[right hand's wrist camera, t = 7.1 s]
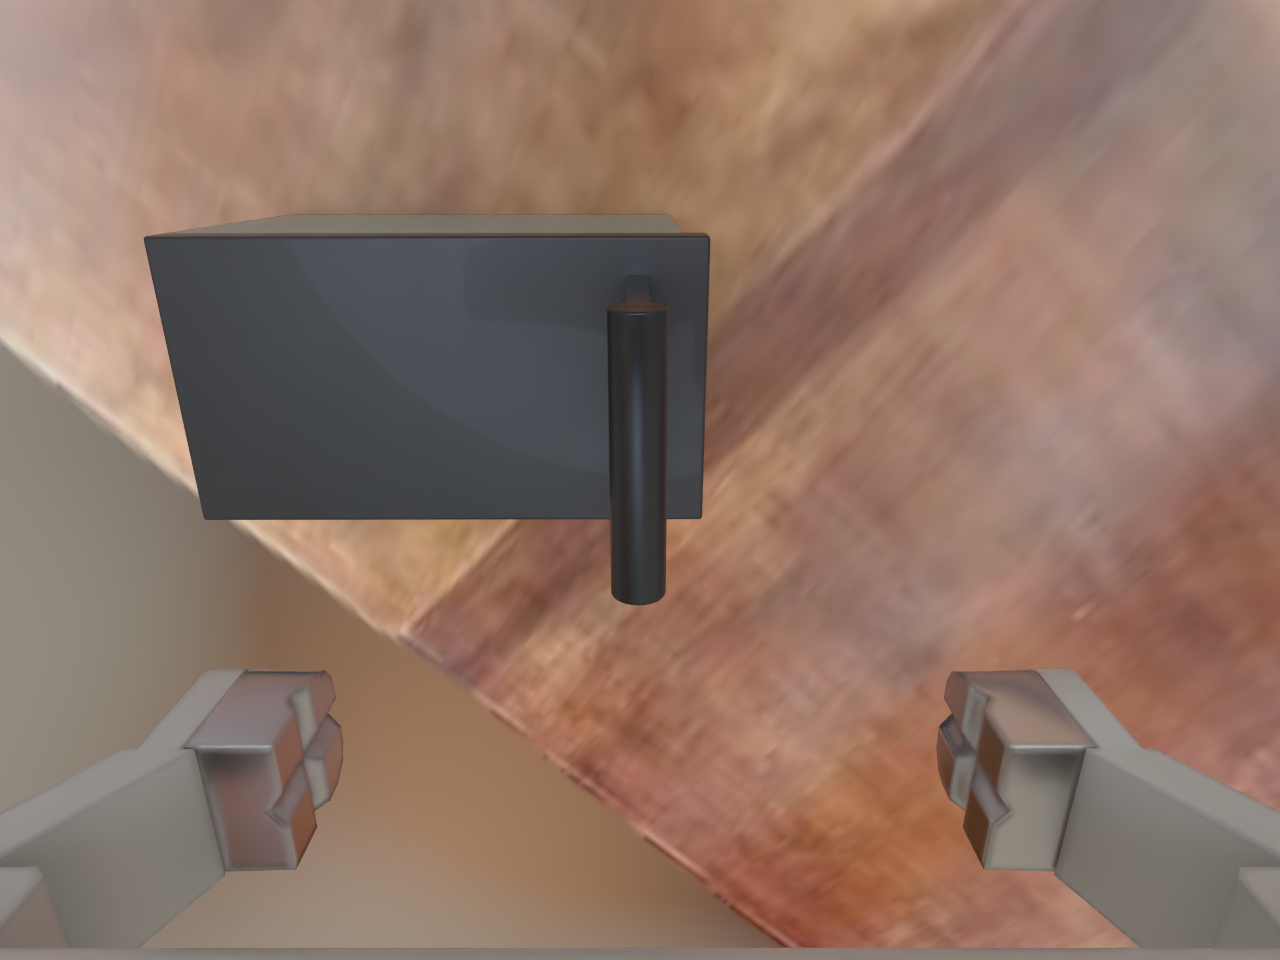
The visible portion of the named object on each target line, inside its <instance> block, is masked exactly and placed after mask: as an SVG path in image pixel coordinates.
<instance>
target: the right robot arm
mask: <svg viewBox="0 0 1280 960" xmlns="http://www.w3.org/2000/svg"><path fill="white" fill-rule="evenodd" d="M335 699H336V695H335V690H334V685H333V681H332V677H331V676H330V675H329V674H328V673H327V672H326V671H325V670H279V669H251V670H248V669H212V670H209V671H206V672H204V673H203V674H202V675H201V676H200V677H199V678H198V679H197V681H196V682H195V683H194V684H193V685H192V686H191V687H190V689H189V690H188V691H187V692H186V693H185V694H184V696H183V697H182V698H181V699H180V700H179V701H178V702H177V704H176V705H175V706H174V707H173V708H172V709H171V711H170V712H169V713H168V714H167V715H166V716H165V717H164V719H163V720H162V721H161V722H160V723H159V724H158V726H157V727H156V728H155V729H154V730H153V731H152V732H151V734H150V735H149V736H148V737H147V738H146V739H145V741H144V742H143V743H142V744H141V745H140V746H139V748H138V749H124V750H122V751H120V752H118V753H116V754H114V755H112V756H110V757H108V758H106V759H104V760H102V761H100V762H98V763H96V764H94V765H92V766H90V767H88V768H86V769H84V770H82V771H80V772H78V773H76V774H74V775H72V776H70V777H68V778H67V779H65V780H62V781H61V782H59V783H57V784H55V785H53V786H51V787H49V788H47V789H45V790H43V791H41V792H39V793H37V794H35V795H33V796H31V797H29V798H27V799H25V800H23V801H21V802H19V803H17V804H15V805H13V806H11V807H9V808H7V809H5V810H3V811H1V812H0V960H1280V812H1278V811H1276V810H1274V809H1272V808H1270V807H1268V806H1266V805H1264V804H1262V803H1261V802H1259V801H1257V800H1255V799H1253V798H1251V797H1249V796H1247V795H1245V794H1243V793H1241V792H1239V791H1237V790H1235V789H1233V788H1231V787H1229V786H1227V785H1225V784H1223V783H1221V782H1219V781H1217V780H1215V779H1213V778H1211V777H1209V776H1208V775H1206V774H1204V773H1202V772H1200V771H1198V770H1196V769H1194V768H1192V767H1190V766H1188V765H1186V764H1184V763H1182V762H1180V761H1178V760H1176V759H1174V758H1172V757H1170V756H1168V755H1166V754H1164V753H1162V752H1160V751H1158V750H1156V749H1142V748H1141V746H1140V745H1139V744H1138V743H1137V742H1136V741H1135V739H1134V738H1133V737H1132V736H1131V735H1130V734H1129V732H1128V731H1127V730H1126V729H1125V728H1124V727H1123V726H1122V724H1121V723H1120V722H1119V721H1118V720H1117V719H1116V717H1115V716H1114V715H1113V714H1112V713H1111V712H1110V711H1109V709H1108V708H1107V707H1106V706H1105V705H1104V704H1103V702H1102V701H1101V700H1100V699H1099V698H1098V697H1097V696H1096V694H1095V693H1094V692H1093V691H1092V690H1091V689H1090V687H1089V686H1088V685H1087V684H1086V683H1085V682H1084V680H1083V679H1082V678H1081V677H1080V676H1079V675H1078V674H1077V673H1076V672H1074V671H1072V670H1070V669H1068V668H1059V669H1029V670H1016V671H952V672H951V674H950V676H949V678H948V680H947V684H946V689H945V695H944V699H945V701H946V703H947V704H948V706H949V708H950V710H951V712H952V714H951V715H950V716H949V717H948V718H947V719H946V720H945V721H944V722H943V723H942V724H941V725H940V726H939V732H938V740H937V759H938V770H939V773H940V777H941V780H942V784H943V786H944V789H945V791H946V793H947V795H948V797H949V799H950V801H952V802H953V803H955V804H956V805H957V806H959V807H960V808H962V809H963V810H964V811H966V812H965V817H964V823H963V828H964V830H965V832H966V834H967V836H968V838H969V840H970V842H971V844H972V846H973V849H974V851H975V853H976V855H977V857H978V859H979V861H980V863H981V865H982V867H983V869H984V870H1019V871H1055V876H1057V877H1058V878H1059V879H1060V880H1061V881H1062V882H1064V883H1065V884H1066V885H1067V886H1068V887H1070V888H1071V889H1072V890H1073V891H1074V892H1075V893H1077V894H1078V895H1079V896H1080V897H1081V898H1083V899H1084V900H1085V901H1086V902H1087V903H1088V904H1090V905H1091V906H1092V907H1093V908H1094V909H1096V910H1097V911H1098V912H1099V913H1100V914H1101V915H1103V916H1104V917H1105V918H1106V919H1107V920H1108V921H1110V922H1111V923H1112V924H1113V925H1114V926H1116V927H1117V928H1118V929H1119V930H1120V931H1121V932H1123V933H1124V934H1125V935H1126V936H1127V937H1129V938H1130V939H1131V940H1132V941H1133V942H1134V943H1136V944H1137V945H1138V946H1139V947H1140V948H140V947H141V946H142V945H143V944H145V943H146V942H147V941H148V940H149V939H151V938H152V937H153V936H154V935H155V934H156V933H158V932H159V931H160V930H161V929H162V928H164V927H165V926H166V925H167V924H168V923H169V922H171V921H172V920H173V919H174V918H175V917H177V916H178V915H179V914H180V913H181V912H182V911H184V910H185V909H186V908H187V907H188V906H189V905H191V904H192V903H193V902H194V901H195V900H197V899H198V898H199V897H200V896H201V895H202V894H204V893H205V892H206V891H207V890H208V889H210V888H211V887H212V886H213V885H214V884H216V883H217V882H218V881H219V880H220V879H221V878H223V877H224V876H225V871H259V870H293V869H297V867H298V865H299V863H300V861H301V859H302V857H303V855H304V853H305V851H306V849H307V846H308V844H309V842H310V840H311V838H312V836H313V834H314V832H315V830H316V828H317V823H316V818H315V812H314V811H315V810H317V809H318V808H320V807H321V806H323V805H324V804H325V803H327V802H328V801H330V799H331V797H332V795H333V793H334V791H335V788H336V786H337V784H338V781H339V776H340V772H341V767H342V762H343V738H342V732H341V726H340V725H339V724H338V723H337V722H336V721H335V720H334V719H333V718H332V717H331V716H330V715H329V714H328V712H329V710H330V708H331V706H332V704H333V703H334V701H335Z"/></svg>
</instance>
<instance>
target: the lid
mask: <svg viewBox="0 0 1280 960" xmlns="http://www.w3.org/2000/svg"><path fill="white" fill-rule="evenodd" d="M144 243H145V247H146V252H147V256H148V261H149V266H150V270H151V275H152V280H153V284H154V289H155V293H156V298H157V303H158V307H159V312H160V317H161V321H162V326H163V331H164V335H165V340H166V344H167V349H168V354H169V358H170V363H171V368H172V372H173V377H174V382H175V386H176V391H177V395H178V400H179V405H180V409H181V414H182V419H183V423H184V428H185V432H186V437H187V442H188V446H189V451H190V456H191V460H192V465H193V470H194V474H195V479H196V483H197V488H198V493H199V497H200V502H201V507H202V511H203V516H204V519H205V520H364V519H610V542H611V592H612V595H613V597H614V598H615V599H617V600H618V601H620V602H622V603H625V604H630V605H647V604H651V603H654V602H657V601H659V600H660V599H661V598H662V597H663V596H664V594H665V591H666V519H701V517H702V497H703V464H704V430H705V397H706V364H707V330H708V297H709V264H710V237H709V236H708V235H707V234H706V233H164V234H158V235H151V236H146V237H144Z"/></svg>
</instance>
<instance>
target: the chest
mask: <svg viewBox="0 0 1280 960" xmlns="http://www.w3.org/2000/svg"><path fill="white" fill-rule="evenodd" d="M171 233H682V232H681V231H680V229H679V228H678V226H677V224H676V223H675V221H674V220H673V218H672V216H671V215H670V214H559V215H284V216H278V217H271V218H264V219H258V220H251V221H244V222H238V223H231V224H224V225H218V226H211V227H204V228H198V229H191V230H184V231H178V232H171Z"/></svg>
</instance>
